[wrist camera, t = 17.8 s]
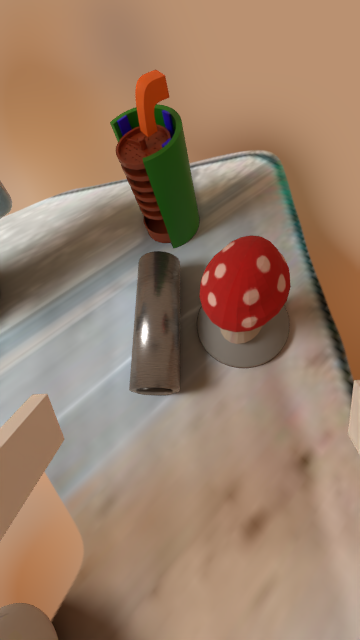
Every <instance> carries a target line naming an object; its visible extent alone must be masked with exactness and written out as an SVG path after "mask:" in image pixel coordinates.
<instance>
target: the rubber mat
mask: <svg viewBox="0 0 360 640" xmlns="http://www.w3.org/2000/svg"><path fill="white" fill-rule="evenodd" d="M289 326H290V324H289V317H288V313H287V310H286V308H285V306H284V305H283V307H282V308H281V310H280V311H279V313H278V314H277V315H276V316H274V317H273V318H272V319H271V320H269V321H268V322H267V323H266V324H265V325H263V326H262V328H261V330H260V331H259V333H258V334H257V335H256V336H255V337H254V338H253V339H252V340H250V341H248V342H246V343H241V344H235V343H231V342H229V341H228V340H226V339H225V338H224V337H223V335H222V333H221V330H220V327H218V326H217V325H215V324H214V323H212V321H211V320H210V319H209V317H208V316H207V314H206V313H205V311H204V310H203V307H202V306H201V308H200V311H199V314H198V318H197V330H198V335H199V338H200V340H201V343H202V345H203V346H204V348H205V349H206V351H207V352H208V353H209V354H210V355H211V356H212V357H213V358H215V359H216V360H217V361H219V362H221V363H223V364H225V365H228V366H232V367H237V368H251V367H256V366H259V365H262V364H264V363H266V362H268V361H270V360H271V359H273V358H274V357H275V356H276V355H277V354H278V353H279V352H280V351H281V349H282V348H283V346H284V344H285V342H286V340H287V337H288V334H289Z"/></svg>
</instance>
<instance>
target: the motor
mask: <svg viewBox="0 0 360 640" xmlns="http://www.w3.org/2000/svg"><path fill="white" fill-rule="evenodd" d="M166 98H169V93H168V88H167V83H166V78H165V75H163V74H162V73H160V72H159V71H157V70H154V71H151V72H148V73H146V74H144V75H142V76H141V77H140V78H139V80H138V82H137V85H136V108H133V109H130V110H128V111H126V112H124V113H122V114H120V115H119V116H118V117H116V118H115V119H113V120H112V121H111V122H110V124H111V126H112V128H113V131H114V133H115V136H116V138H117V140H118V144H117V146H116V155H117V157H118V159H119V162H120V163H121V166H122V169H123V171H124V173H125V175H126V177H127V180H128V182H129V184H130V186H131V189H132V192H133V194H134V195H135V198H136V201H137V203H138V205H139V207H140V210H141V212H142V214H143V215H144V224H145V226H146V228H147V231H148V233H149V235H150V236H151V238H152V239H154V240H155V241H157V242H161V243H172V246H173V248H176V247H179V246H181V245H183V244H185V243H186V242H188V241H189V240H190V239H191V238H192V237H193V236H194V235H195V233H196V231H197V229H198V227H199V214H198V209H197V203H196V198H195V192H194V187H193V181H192V176H191V170H190V165H189V160H188V154H187V148H186V143H185V137H184V132H183V127H182V122H181V118H180V116H179V114H178V113H177V112H176V111H175V110H174V109H172V108H170V107H167V106H164V105H157V103H158V102H160V101H162V100H164V99H166Z"/></svg>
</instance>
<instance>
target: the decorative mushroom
mask: <svg viewBox="0 0 360 640" xmlns="http://www.w3.org/2000/svg"><path fill="white" fill-rule="evenodd" d="M289 290H290V273H289V268H288V265H287V263H286V261H285V259H284V257H283V255H282V254H281V253H280V252H279V251H278V249H277V248H276V247H275V246H274V245H273V244H272V243H271V242H270V241H268V240H266V239H264V238H262V237H259V236H246V237H241V238H239V239H237V240H234V241H232V242H231V243H230V244H228V245H227V246H226V247H225V248H223V249H222V250H221V251H220V252H219V253H218V254H216V255H215V256H214V257H213V259H212V260H211V261H210V262H209V264H208V265H207V267H206V269H205V272H204V274H203V277H202V280H201V284H200V300H201V304H202V307H203V310H204V311H205V313H206V314H207V316H208V317H209V319H210V320H211V321H212V323H214V324H215V325H217V326H218V327H220V330H221V333H222V335H223V337H224V338H225V339H226V340H228V341H229V342H231V343H235V344H241V343H246V342H248V341H250V340H252V339H253V338H254V337H255V336H256V335H257V334H258V333H259V331H260V330H261V328H262V326H263V325H265V324H266V323H267V322H268V321H269V320H271V319H272V318H273V317H274V316H276V315H277V314H278V313H279V311H280V310H281V308H282V307H283V305H284V304H285V302H286V301H287V297H288V294H289Z"/></svg>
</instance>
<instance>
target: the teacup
mask: <svg viewBox="0 0 360 640" xmlns="http://www.w3.org/2000/svg"><path fill="white" fill-rule="evenodd" d="M0 640H58V637H57V634H56V631H55V629H54V626H53V625H52V623H51V621H50V620H49V618H48V617H47V616H46V615H45V614H44V613H43V612H42V611H41V610H40V609H38V608H37V607H35V606H33V605H30V604H25V603H16V604H11V605H7V606H4V607H2V608H0Z"/></svg>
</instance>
